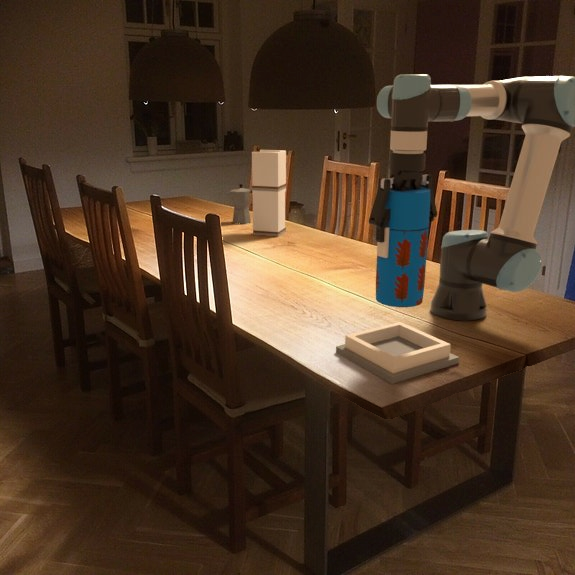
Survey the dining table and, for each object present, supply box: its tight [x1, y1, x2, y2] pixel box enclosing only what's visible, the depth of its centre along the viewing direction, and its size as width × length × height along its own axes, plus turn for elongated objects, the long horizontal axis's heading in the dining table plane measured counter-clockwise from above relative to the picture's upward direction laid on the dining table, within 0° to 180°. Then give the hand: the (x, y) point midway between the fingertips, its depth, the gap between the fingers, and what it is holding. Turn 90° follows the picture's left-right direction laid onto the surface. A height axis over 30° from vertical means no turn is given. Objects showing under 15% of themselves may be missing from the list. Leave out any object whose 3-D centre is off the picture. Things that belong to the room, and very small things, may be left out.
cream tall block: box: [251, 149, 287, 238], centre depth 269 cm, size 11×11×35 cm
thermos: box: [375, 187, 431, 308], centre depth 139 cm, size 11×11×25 cm
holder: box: [335, 321, 460, 385], centre depth 146 cm, size 20×20×4 cm
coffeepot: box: [227, 183, 253, 225], centre depth 294 cm, size 15×9×18 cm, turn 117°
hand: (401, 252), depth 139 cm, fingers closed on thermos, 11 cm apart
